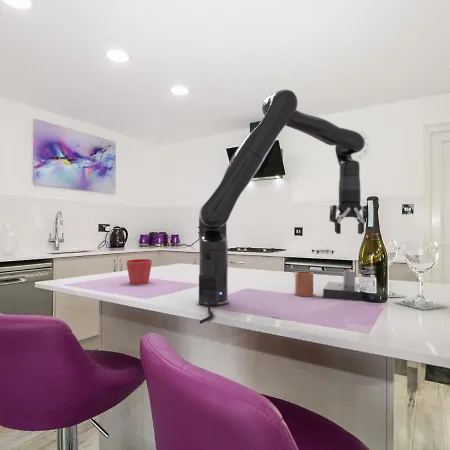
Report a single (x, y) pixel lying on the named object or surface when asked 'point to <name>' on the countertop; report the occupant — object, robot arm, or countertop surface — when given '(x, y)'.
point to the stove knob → (349, 278)
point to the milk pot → (304, 283)
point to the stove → (341, 291)
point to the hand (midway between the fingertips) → (349, 233)
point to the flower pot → (139, 270)
